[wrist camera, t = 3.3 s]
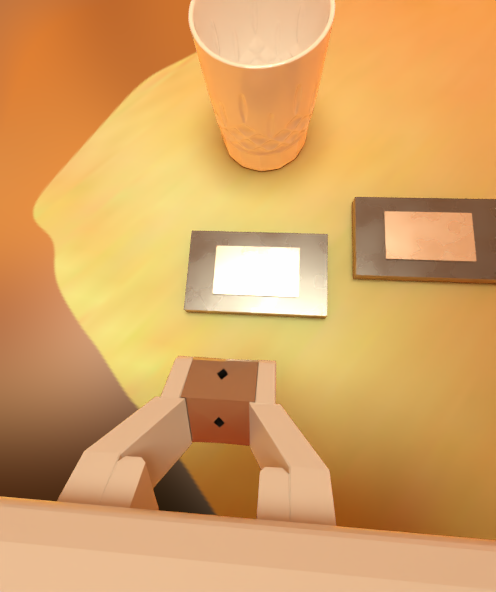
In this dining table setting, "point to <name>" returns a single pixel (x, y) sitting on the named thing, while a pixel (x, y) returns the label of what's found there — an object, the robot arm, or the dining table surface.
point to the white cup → (262, 72)
